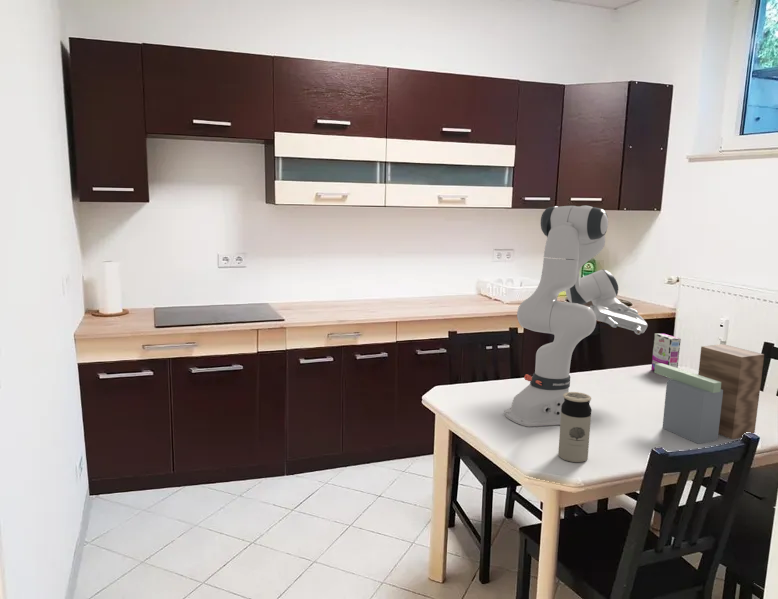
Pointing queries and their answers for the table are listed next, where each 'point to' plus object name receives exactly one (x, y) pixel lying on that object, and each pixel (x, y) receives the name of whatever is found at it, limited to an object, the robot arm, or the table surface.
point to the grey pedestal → (692, 412)
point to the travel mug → (575, 427)
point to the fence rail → (688, 378)
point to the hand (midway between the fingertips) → (627, 329)
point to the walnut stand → (734, 385)
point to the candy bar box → (665, 350)
